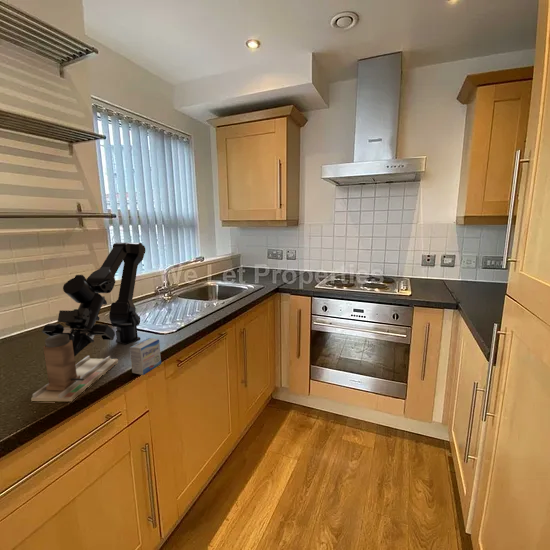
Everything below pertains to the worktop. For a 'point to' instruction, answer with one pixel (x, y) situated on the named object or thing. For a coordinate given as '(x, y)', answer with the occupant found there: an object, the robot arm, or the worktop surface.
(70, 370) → the post
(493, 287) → the worktop surface
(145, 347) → the medicine box
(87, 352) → the worktop surface
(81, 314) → the robot arm
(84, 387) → the scale board
